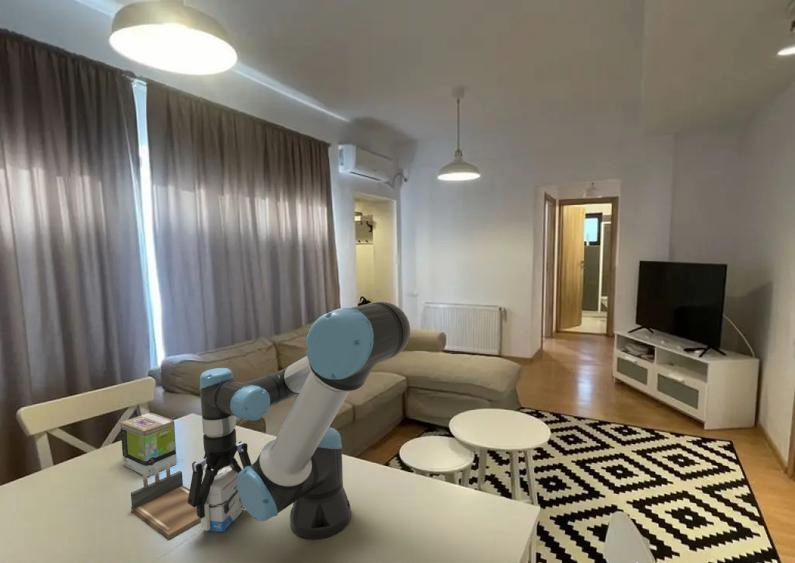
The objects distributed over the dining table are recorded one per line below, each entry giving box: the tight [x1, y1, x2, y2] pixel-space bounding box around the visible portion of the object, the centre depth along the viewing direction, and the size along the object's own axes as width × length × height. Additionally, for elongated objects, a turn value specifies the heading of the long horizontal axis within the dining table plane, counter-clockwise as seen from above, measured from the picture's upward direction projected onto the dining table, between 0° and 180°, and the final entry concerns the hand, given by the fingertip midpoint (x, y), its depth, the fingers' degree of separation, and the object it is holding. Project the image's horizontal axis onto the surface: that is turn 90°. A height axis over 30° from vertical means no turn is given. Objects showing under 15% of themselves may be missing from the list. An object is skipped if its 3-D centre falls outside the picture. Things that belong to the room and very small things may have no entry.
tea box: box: [120, 412, 178, 478], centre depth 135 cm, size 15×10×15 cm, turn 58°
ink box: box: [206, 467, 243, 533], centre depth 105 cm, size 8×5×12 cm, turn 168°
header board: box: [130, 462, 201, 540], centre depth 110 cm, size 20×13×9 cm, turn 55°
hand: (224, 516), depth 106 cm, fingers closed on ink box, 9 cm apart
